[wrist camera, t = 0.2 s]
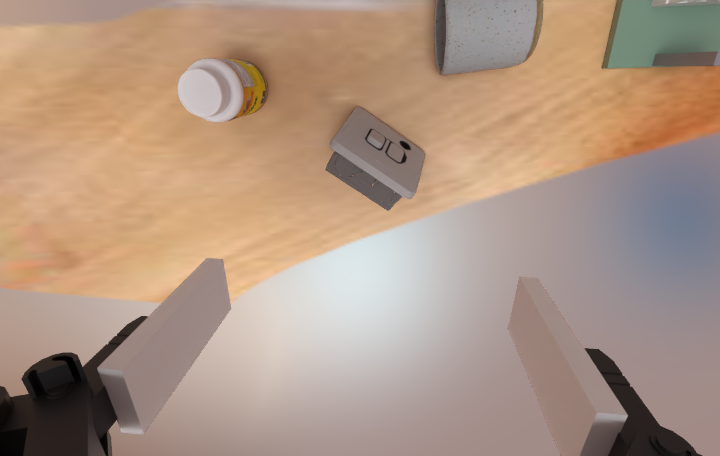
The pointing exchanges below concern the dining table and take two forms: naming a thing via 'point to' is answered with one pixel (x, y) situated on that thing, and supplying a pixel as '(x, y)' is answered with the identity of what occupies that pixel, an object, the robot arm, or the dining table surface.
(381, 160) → the electrical switch
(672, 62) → the base
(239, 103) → the supplement bottle
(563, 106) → the dining table surface
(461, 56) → the ceramic mug
